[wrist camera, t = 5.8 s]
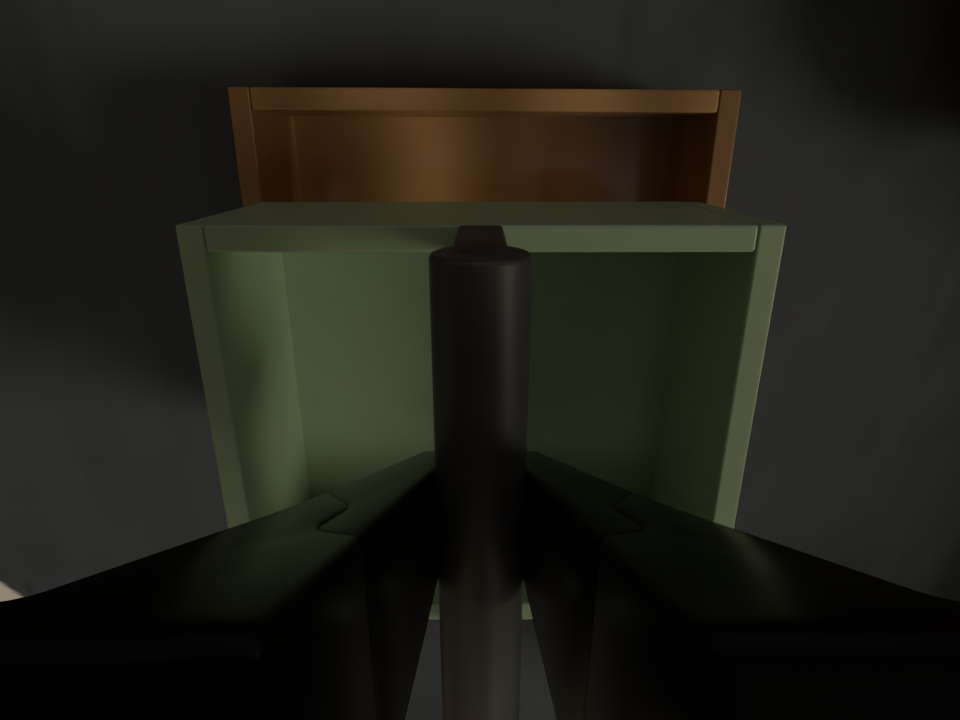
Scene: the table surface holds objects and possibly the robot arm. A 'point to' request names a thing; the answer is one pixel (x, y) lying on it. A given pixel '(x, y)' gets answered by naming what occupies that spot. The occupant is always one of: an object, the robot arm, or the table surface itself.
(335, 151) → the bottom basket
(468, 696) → the top basket
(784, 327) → the table surface
